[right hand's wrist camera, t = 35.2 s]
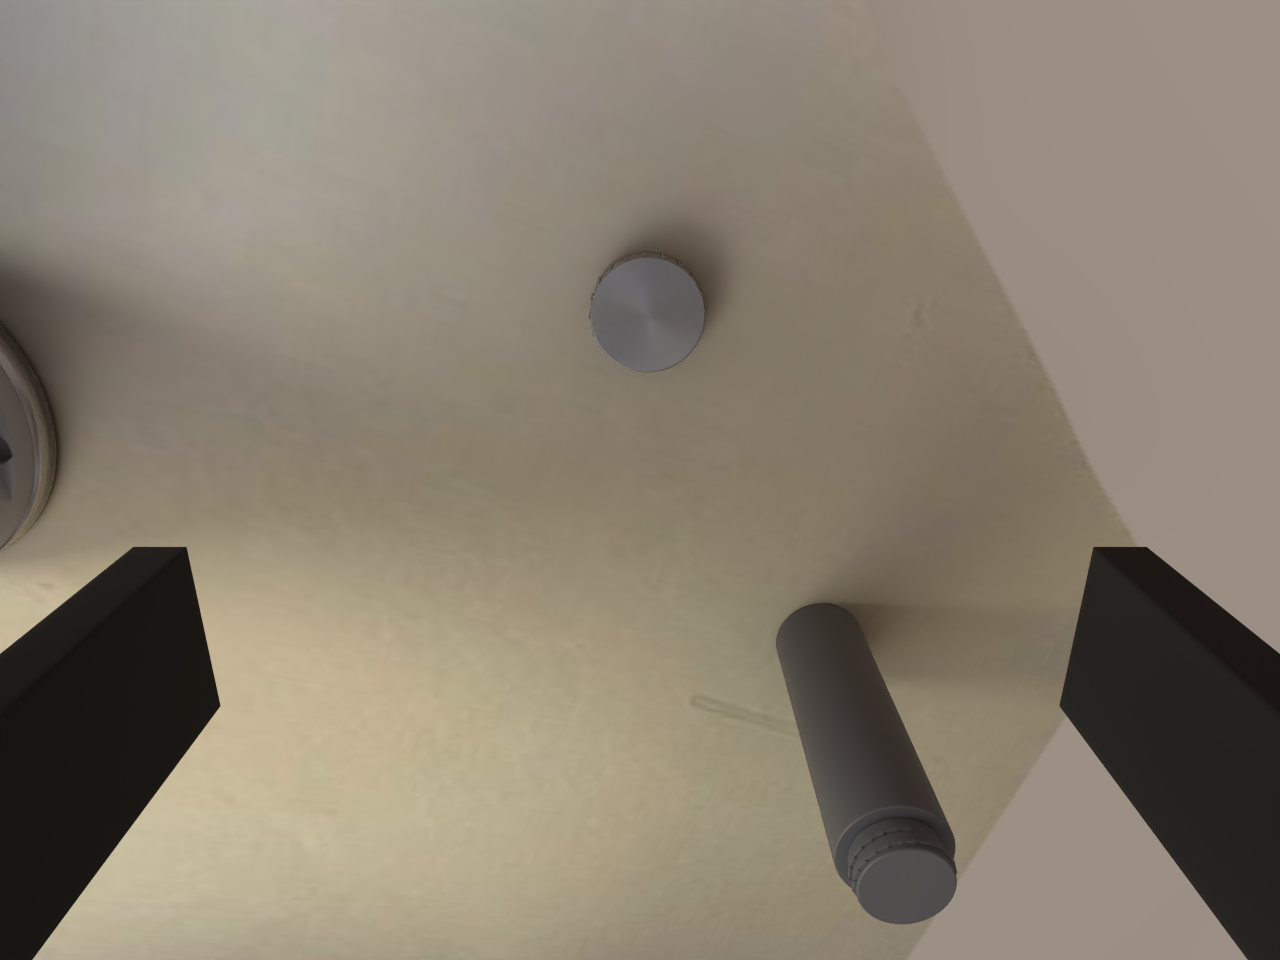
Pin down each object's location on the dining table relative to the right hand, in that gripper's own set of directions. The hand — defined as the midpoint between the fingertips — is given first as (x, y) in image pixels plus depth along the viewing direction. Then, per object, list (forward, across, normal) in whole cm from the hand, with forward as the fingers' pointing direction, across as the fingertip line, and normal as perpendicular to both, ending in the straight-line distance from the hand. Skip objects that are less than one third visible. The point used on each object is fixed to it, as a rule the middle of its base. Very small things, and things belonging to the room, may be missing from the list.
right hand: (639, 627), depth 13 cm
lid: (+25, 0, 0) cm, 25 cm away
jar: (+26, +9, -17) cm, 32 cm away
